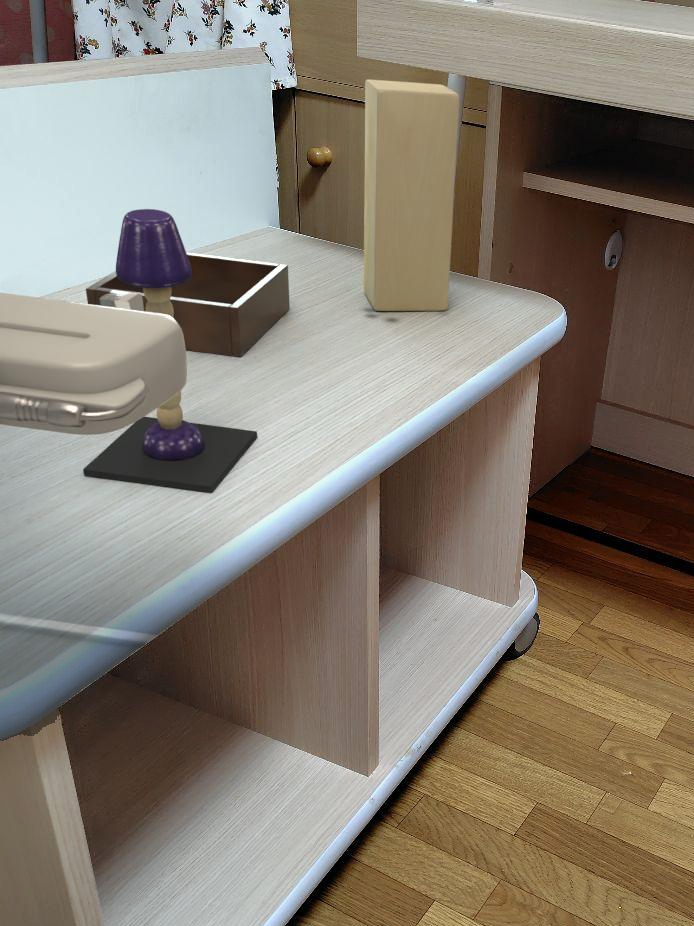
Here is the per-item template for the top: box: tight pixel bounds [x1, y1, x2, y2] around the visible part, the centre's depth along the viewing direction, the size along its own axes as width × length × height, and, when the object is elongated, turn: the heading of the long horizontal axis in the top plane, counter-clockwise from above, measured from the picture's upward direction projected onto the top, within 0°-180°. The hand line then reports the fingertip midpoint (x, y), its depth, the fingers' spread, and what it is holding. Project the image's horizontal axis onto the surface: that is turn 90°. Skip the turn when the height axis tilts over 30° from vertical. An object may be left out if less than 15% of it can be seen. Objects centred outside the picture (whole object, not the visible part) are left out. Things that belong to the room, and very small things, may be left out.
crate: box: [85, 251, 291, 358], centre depth 93 cm, size 14×14×4 cm
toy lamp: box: [115, 208, 205, 460], centre depth 67 cm, size 5×5×17 cm
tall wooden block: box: [363, 78, 460, 312], centre depth 100 cm, size 8×7×21 cm
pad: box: [82, 416, 258, 493], centre depth 71 cm, size 9×9×1 cm
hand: (45, 294), depth 53 cm, fingers open, 8 cm apart
